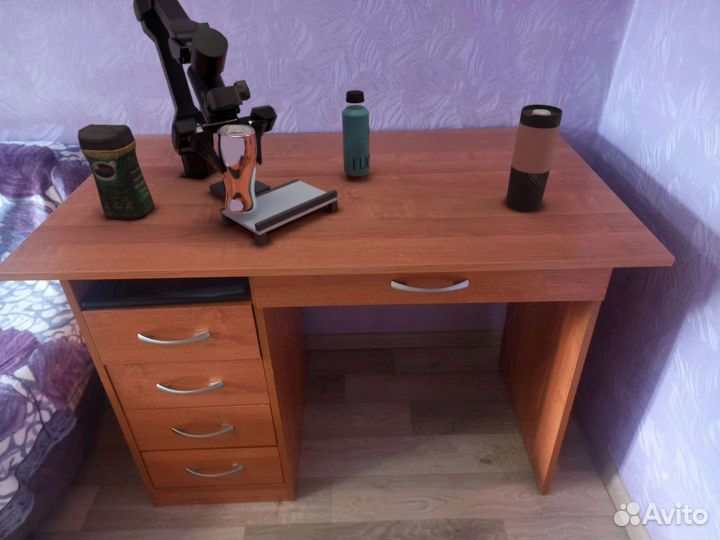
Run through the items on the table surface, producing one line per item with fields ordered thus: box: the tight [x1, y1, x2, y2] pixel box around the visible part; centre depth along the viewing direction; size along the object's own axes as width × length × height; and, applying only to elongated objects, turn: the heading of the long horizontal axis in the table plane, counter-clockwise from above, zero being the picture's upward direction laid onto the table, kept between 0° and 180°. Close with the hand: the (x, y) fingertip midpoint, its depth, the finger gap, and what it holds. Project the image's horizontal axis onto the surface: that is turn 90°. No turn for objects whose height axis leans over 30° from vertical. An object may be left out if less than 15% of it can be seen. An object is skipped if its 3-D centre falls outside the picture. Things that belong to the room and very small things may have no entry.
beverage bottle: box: [341, 89, 371, 177], centre depth 109 cm, size 6×7×20 cm
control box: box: [208, 177, 272, 201], centre depth 107 cm, size 11×9×4 cm
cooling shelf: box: [219, 178, 339, 247], centre depth 97 cm, size 13×20×4 cm, turn 136°
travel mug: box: [505, 103, 563, 213], centre depth 96 cm, size 8×8×20 cm
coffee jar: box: [77, 123, 155, 220], centre depth 96 cm, size 10×8×19 cm
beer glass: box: [216, 124, 258, 214], centre depth 87 cm, size 7×7×15 cm
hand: (242, 168), depth 86 cm, fingers closed on beer glass, 7 cm apart
